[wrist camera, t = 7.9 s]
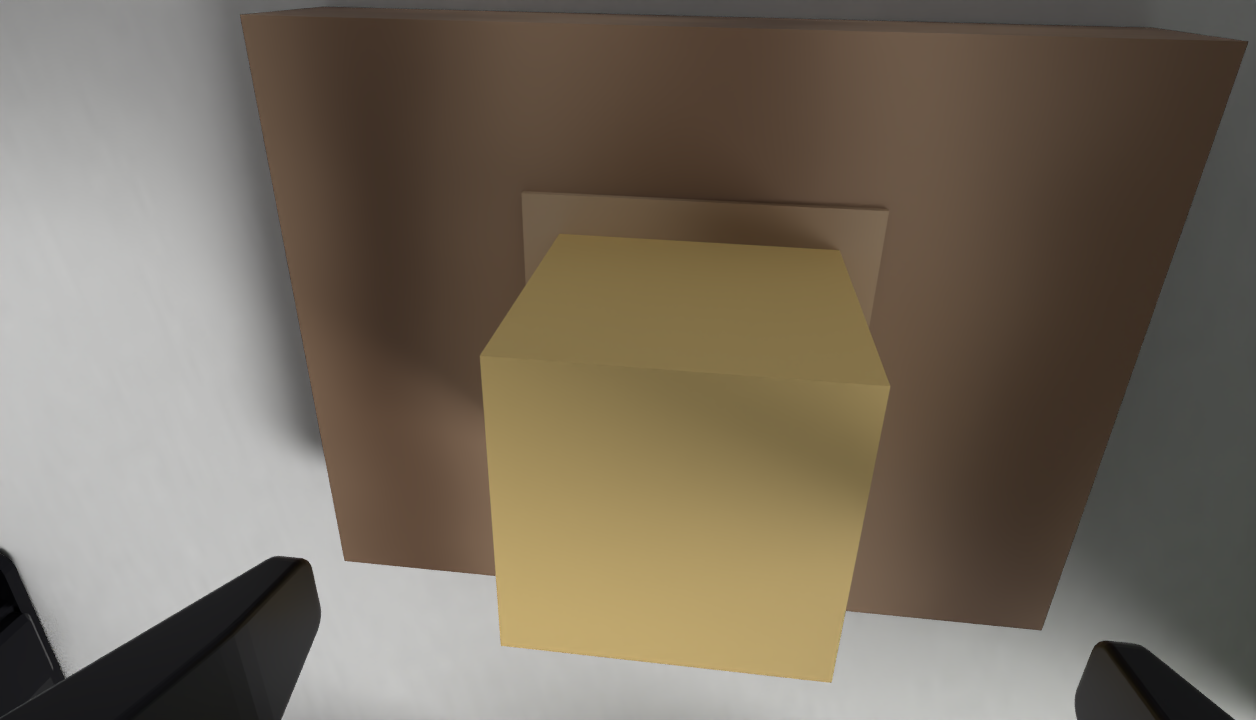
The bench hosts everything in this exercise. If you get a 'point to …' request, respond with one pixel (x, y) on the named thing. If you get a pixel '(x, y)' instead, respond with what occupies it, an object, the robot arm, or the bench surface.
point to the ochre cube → (681, 453)
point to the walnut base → (743, 243)
